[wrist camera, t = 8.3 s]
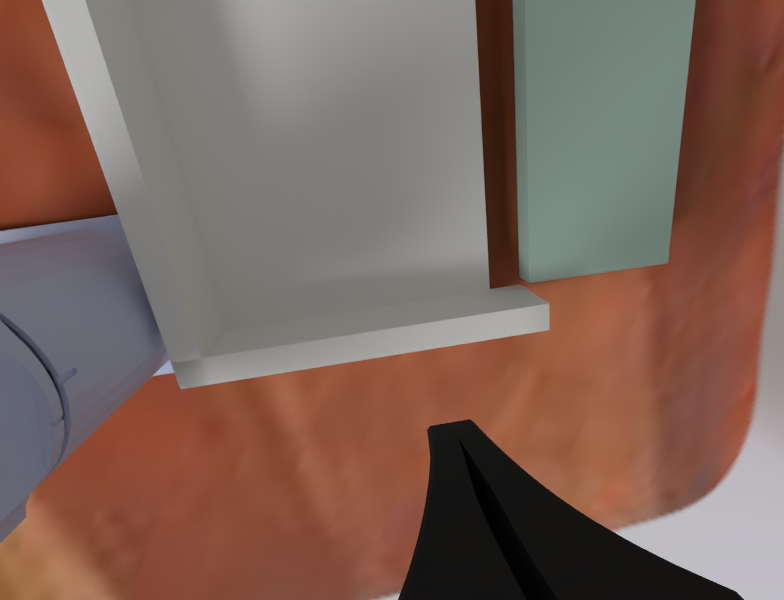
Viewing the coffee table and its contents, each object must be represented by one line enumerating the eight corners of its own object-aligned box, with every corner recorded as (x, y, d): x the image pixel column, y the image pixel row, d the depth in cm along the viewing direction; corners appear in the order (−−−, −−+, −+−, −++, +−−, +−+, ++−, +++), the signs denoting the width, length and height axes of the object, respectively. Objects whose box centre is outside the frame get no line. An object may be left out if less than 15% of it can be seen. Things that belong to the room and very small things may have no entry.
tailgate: (529, 283, 17) (667, 263, 17) (521, -224, 12) (721, -248, 12) (519, 276, 18) (649, 257, 18) (508, -189, 13) (690, -210, 13)
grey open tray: (218, 343, 19) (180, 389, 15) (62, -170, 13) (-79, -337, 9) (508, 298, 20) (549, 330, 16) (491, -209, 14) (551, -381, 10)
